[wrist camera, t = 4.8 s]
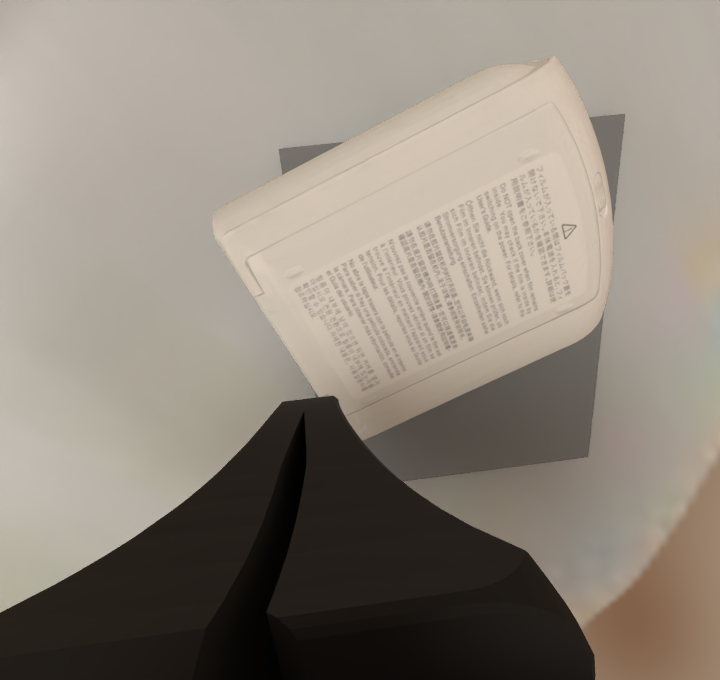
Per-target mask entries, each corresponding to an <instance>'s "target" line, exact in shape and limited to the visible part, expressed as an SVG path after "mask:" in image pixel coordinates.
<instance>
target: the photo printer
mask: <svg viewBox="0 0 720 680" xmlns="http://www.w3.org/2000/svg"><path fill="white" fill-rule="evenodd" d="M212 226H213V232H214V237H215V239H216V242H217V243H218V245H219V247H220V248H221V249H222V251H223V252H224V254H225V255H226V256H227V258H228V259H229V261H230V262H231V264H232V265H233V267H234V268H235V270H236V272H237V273H238V275H239V276H240V278H241V279H242V281H243V282H244V284H245V285H246V287H247V288H248V290H249V291H250V293H251V294H252V296H253V297H254V299H255V301H256V302H257V304H258V305H259V307H260V308H261V310H262V311H263V313H264V314H265V316H266V317H267V319H268V320H269V322H270V323H271V325H272V327H273V328H274V330H275V331H276V333H277V334H278V336H279V337H280V339H281V340H282V342H283V343H284V345H285V346H286V348H287V349H288V351H289V352H290V354H291V355H292V357H293V359H294V360H295V362H296V363H297V365H298V366H299V368H300V369H301V371H302V372H303V374H304V375H305V377H306V378H307V380H308V381H309V383H310V384H311V386H312V388H313V389H314V391H315V392H316V394H317V395H318V397H326V396H335V397H336V398H337V399H339V405H340V407H341V409H342V411H343V413H344V415H345V417H346V419H347V420H348V422H349V423H350V425H351V426H352V428H353V429H354V430H355V432H356V433H357V435H358V436H359V437H360V439H361V440H365V439H367V438H370V437H372V436H375V435H377V434H379V433H381V432H383V431H385V430H387V429H390V428H392V427H394V426H396V425H398V424H400V423H403V422H405V421H407V420H409V419H411V418H413V417H415V416H417V415H420V414H422V413H424V412H426V411H428V410H430V409H432V408H435V407H437V406H439V405H441V404H443V403H445V402H447V401H450V400H452V399H454V398H456V397H458V396H460V395H462V394H465V393H467V392H469V391H471V390H473V389H476V388H478V387H480V386H482V385H484V384H486V383H489V382H491V381H493V380H495V379H497V378H500V377H502V376H504V375H506V374H508V373H510V372H513V371H515V370H517V369H519V368H521V367H524V366H526V365H528V364H530V363H532V362H534V361H536V360H539V359H541V358H543V357H545V356H547V355H550V354H552V353H554V352H556V351H558V350H561V349H563V348H565V347H567V346H570V345H572V344H574V343H576V342H577V341H579V340H581V339H583V338H584V337H585V336H587V335H588V334H589V333H590V332H591V331H592V330H593V329H594V328H595V327H596V326H597V325H598V323H599V322H600V320H601V317H602V315H603V311H604V308H605V305H606V301H607V297H608V292H609V287H610V281H611V273H612V263H613V219H612V207H611V198H610V192H609V186H608V180H607V175H606V170H605V165H604V162H603V158H602V154H601V151H600V147H599V144H598V141H597V138H596V135H595V132H594V129H593V126H592V123H591V121H590V119H589V116H588V114H587V111H586V109H585V107H584V104H583V102H582V100H581V98H580V96H579V94H578V92H577V90H576V88H575V86H574V84H573V83H572V81H571V79H570V78H569V76H568V74H567V73H566V71H565V70H564V68H563V67H562V65H561V64H560V62H559V61H558V59H557V58H556V57H555V56H551V57H549V58H546V59H544V60H541V61H536V60H533V61H531V62H528V63H525V64H522V65H521V64H507V65H500V66H494V67H491V68H488V69H485V70H482V71H480V72H478V73H475V74H473V75H471V76H469V77H467V78H466V79H464V80H462V81H460V82H458V83H456V84H454V85H452V86H450V87H449V88H447V89H445V90H443V91H441V92H439V93H437V94H435V95H433V96H432V97H430V98H428V99H426V100H424V101H422V102H420V103H418V104H416V105H414V106H413V107H411V108H409V109H407V110H405V111H403V112H401V113H399V114H397V115H396V116H394V117H392V118H390V119H388V120H386V121H384V122H382V123H380V124H378V125H376V126H374V127H373V128H371V129H369V130H367V131H365V132H363V133H361V134H359V135H357V136H355V137H353V138H352V139H350V140H348V141H346V142H344V143H342V144H340V145H338V146H336V147H334V148H333V149H331V150H329V151H327V152H325V153H323V154H321V155H319V156H317V157H315V158H313V159H312V160H310V161H308V162H306V163H304V164H302V165H300V166H298V167H296V168H294V169H293V170H291V171H289V172H287V173H285V174H283V175H281V176H279V177H277V178H275V179H273V180H272V181H270V182H268V183H266V184H264V185H262V186H260V187H258V188H257V189H255V190H253V191H251V192H249V193H247V194H245V195H243V196H242V197H240V198H238V199H236V200H234V201H232V202H230V203H228V204H227V205H225V206H223V207H221V208H219V209H218V210H216V212H215V213H214V215H213V220H212Z"/></svg>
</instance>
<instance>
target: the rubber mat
mask: <svg viewBox="0 0 720 680" xmlns="http://www.w3.org/2000/svg"><path fill="white" fill-rule="evenodd" d="M589 119H590V121H591V123H592V126H593V129H594V132H595V135H596V138H597V141H598V144H599V147H600V151H601V154H602V158H603V162H604V165H605V170H606V175H607V180H608V186H609V192H610V198H611V207H612V219H613V222H614V212H615V203H616V194H617V185H618V175H619V166H620V157H621V148H622V139H623V129H624V120H625V114H620V115H610V116H600V117H590V118H589ZM342 143H344V142H342ZM342 143H332V144H322V145H313V146H303V147H293V148H283V149H279V153H280V160H281V167H282V173H283V174H285V173H287V172H289V171H291V170H293V169H294V168H296V167H298V166H300V165H302V164H304V163H306V162H308V161H310V160H312V159H313V158H315V157H317V156H319V155H321V154H323V153H325V152H327V151H329V150H331V149H333V148H334V147H336V146H338V145H340V144H342ZM603 314H604V311H603ZM602 323H603V315H602V317H601V320H600V322H599V323H598V325H597V326H596V327H595V328H594V329H593V330H592V331H591V332H590V333H589V334H588V335H587V336H585V337H584V338H583V339H581V340H579V341H577V342H576V343H574V344H572V345H570V346H567V347H565V348H563V349H561V350H558V351H556V352H554V353H552V354H550V355H547V356H545V357H543V358H541V359H539V360H536V361H534V362H532V363H530V364H528V365H526V366H524V367H521V368H519V369H517V370H515V371H513V372H510V373H508V374H506V375H504V376H502V377H500V378H497V379H495V380H493V381H491V382H489V383H486V384H484V385H482V386H480V387H478V388H476V389H473V390H471V391H469V392H467V393H465V394H462V395H460V396H458V397H456V398H454V399H452V400H450V401H447V402H445V403H443V404H441V405H439V406H437V407H435V408H432V409H430V410H428V411H426V412H424V413H422V414H420V415H417V416H415V417H413V418H411V419H409V420H407V421H405V422H403V423H400V424H398V425H396V426H394V427H392V428H390V429H387V430H385V431H383V432H381V433H379V434H377V435H375V436H372V437H370V438H367V439H365V440H362V441H363V442H364V444H365V445H366V446H367V447H368V448H369V449H370V451H371V452H372V453H373V454H374V455H375V456H376V457H377V458H378V459H379V460H380V461H381V462H382V463H383V464H384V465H385V466H386V467H387V468H388V469H389V470H390V471H391V472H392V473H393V474H394V475H395V476H397V477H398V478H399V479H400V480H401V481H408V480H416V479H423V478H431V477H439V476H446V475H454V474H462V473H469V472H477V471H485V470H492V469H500V468H508V467H515V466H523V465H530V464H538V463H546V462H553V461H561V460H569V459H576V458H584V457H588V453H589V443H590V434H591V425H592V416H593V406H594V397H595V388H596V379H597V369H598V360H599V351H600V342H601V332H602ZM315 393H316V392H315ZM316 398H318V395H317V394H316Z"/></svg>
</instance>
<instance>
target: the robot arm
mask: <svg viewBox="0 0 720 680" xmlns="http://www.w3.org/2000/svg"><path fill="white" fill-rule="evenodd" d="M0 680H595V661H594V654H593V652H592V650H591V648H590V646H589V644H588V642H587V640H586V638H585V636H584V634H583V632H582V630H581V628H580V626H579V624H578V622H577V621H576V619H575V617H574V616H573V614H572V613H571V611H570V609H569V608H568V606H567V605H566V603H565V602H564V600H563V599H562V598H561V596H560V595H559V593H558V592H557V591H556V589H555V588H554V586H553V585H552V584H551V582H550V581H549V580H548V578H547V577H546V576H545V574H544V573H543V572H542V570H541V569H540V568H539V566H538V565H537V564H536V562H535V561H534V560H533V559H532V557H531V556H530V555H529V554H528V552H526V551H525V550H523V549H521V548H519V547H516V546H514V545H512V544H510V543H507V542H505V541H503V540H501V539H499V538H496V537H494V536H492V535H490V534H488V533H485V532H483V531H481V530H479V529H476V528H474V527H472V526H470V525H468V524H466V523H465V522H463V521H461V520H459V519H458V518H456V517H454V516H452V515H450V514H449V513H447V512H445V511H443V510H442V509H440V508H438V507H437V506H435V505H434V504H433V503H431V502H430V501H428V500H427V499H425V498H424V497H422V496H421V495H419V494H418V493H416V492H415V491H414V490H412V489H411V488H410V487H409V486H407V485H406V484H405V483H404V482H402V481H401V480H400V479H399V478H398V477H397V476H395V475H394V474H393V473H392V472H391V471H390V470H389V469H388V468H387V467H386V466H385V465H384V464H383V463H382V462H381V461H380V460H379V459H378V458H377V457H376V456H375V455H374V454H373V453H372V452H371V451H370V449H369V448H368V447H367V446H366V445H365V444H364V442H363V441H362V440H361V439H360V437H359V436H358V435H357V433H356V432H355V430H354V429H353V428H352V426H351V425H350V423H349V422H348V420H347V419H346V417H345V415H344V413H343V411H342V409H341V407H340V405H339V399H337V398H336V397H335V396H326V397H318V398H310V399H302V400H294V401H286V402H282V403H281V404H280V405H279V407H278V408H277V409H276V410H275V411H274V412H273V414H272V415H271V416H270V417H269V418H268V420H267V421H266V422H265V423H264V424H263V426H262V427H261V428H260V429H259V430H258V431H257V433H256V434H255V435H254V436H253V437H252V438H251V439H250V441H249V442H248V443H247V444H246V445H245V446H244V447H243V448H242V449H241V450H240V451H239V452H238V453H237V454H236V455H235V456H234V457H233V458H232V459H231V460H230V461H229V462H228V463H227V464H226V465H225V466H224V467H223V468H222V469H221V470H220V471H219V472H218V473H217V474H216V475H215V476H214V477H213V478H212V479H211V480H209V481H208V482H207V483H206V484H205V485H204V486H203V487H201V488H200V489H199V490H198V491H196V492H195V493H194V494H193V495H192V496H190V497H189V498H188V499H187V500H185V501H184V502H183V503H182V504H180V505H179V506H178V507H176V508H175V509H174V510H172V511H171V512H169V513H168V514H167V515H165V516H164V517H162V518H161V519H160V520H158V521H157V522H155V523H154V524H152V525H151V526H150V527H148V528H147V529H145V530H144V531H143V532H141V533H140V534H138V535H137V536H135V537H134V538H132V539H131V540H129V541H128V542H126V543H125V544H123V545H121V546H120V547H118V548H117V549H115V550H113V551H112V552H110V553H109V554H107V555H105V556H104V557H102V558H100V559H99V560H97V561H95V562H94V563H92V564H90V565H89V566H87V567H85V568H83V569H82V570H80V571H78V572H77V573H75V574H73V575H71V576H70V577H68V578H66V579H64V580H62V581H60V582H59V583H57V584H55V585H53V586H51V587H49V588H47V589H46V590H44V591H42V592H40V593H38V594H36V595H34V596H32V597H30V598H28V599H26V600H24V601H22V602H20V603H18V604H16V605H14V606H13V607H11V608H9V609H7V610H5V611H3V612H1V613H0Z"/></svg>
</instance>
